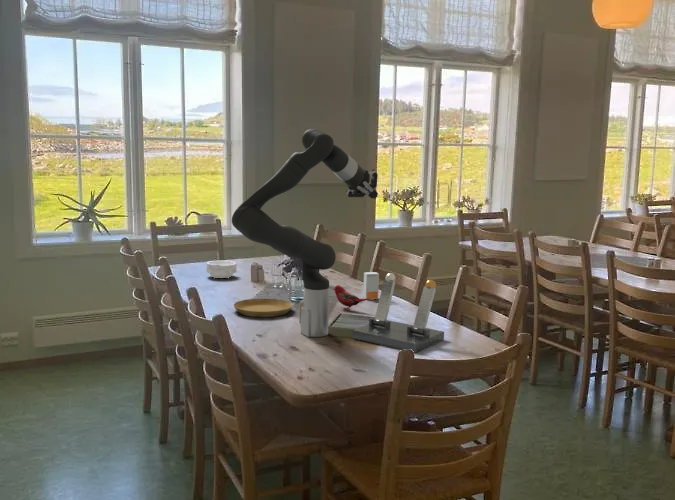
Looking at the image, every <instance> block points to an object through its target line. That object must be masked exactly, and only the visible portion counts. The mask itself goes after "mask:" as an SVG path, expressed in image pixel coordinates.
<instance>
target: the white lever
mask: <svg viewBox="0 0 675 500" xmlns="http://www.w3.org/2000/svg"><path fill="white" fill-rule="evenodd" d="M395 286H396V275H395V274H394V273H392V272H389V273H387V274H386V275H385V279H383V282H382V286H381V292H380V295H379V298H378V304H377V308H376V312H375V317H373V318H374V319H373V321H372V324H373V325H376V326H381V327H384V325H385V322H386V320H388V317H389V316H388V315H389V311H390V307H391V304H392V298H393V294H394V291H395Z"/></svg>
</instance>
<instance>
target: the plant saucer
mask: <svg viewBox="0 0 675 500" xmlns="http://www.w3.org/2000/svg"><path fill="white" fill-rule="evenodd" d="M233 308H234V309H235V311H237V313H239V314H241V315H243V316H246V317H253V318H274V317H280V316H283V315H286V314H287V313H288V312H289V311H291V309H292V308H293V303H292V302H291V301H288V300H285V299H284V300H283V299H279V298H269V297H267V298H263V297H262V298H259V297H257V298H248V299H243V300H238V301H237V302H234V304H233Z"/></svg>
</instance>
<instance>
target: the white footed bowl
mask: <svg viewBox="0 0 675 500" xmlns="http://www.w3.org/2000/svg"><path fill="white" fill-rule="evenodd" d="M206 273H208V274H209V275H210V277H211V278H212V277H214V278H213V279H215V278H228V277H231V276H232V277H233V275H234V274H235V273H237V262H235V261H233V260H232V261H231V260H209V261H207V262H206ZM232 277H231V278H232ZM228 279H229V278H228Z"/></svg>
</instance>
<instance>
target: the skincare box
mask: <svg viewBox="0 0 675 500" xmlns="http://www.w3.org/2000/svg"><path fill="white" fill-rule="evenodd" d="M379 283H380V273H378V272H376V271H375V272H374V271H371V272H369V271H368V272H367V271H366V272H363V290H362V292H363V293H362V299H369V301H370V300H374V299H378V300H379V286H380V285H379ZM374 301H375V300H374Z"/></svg>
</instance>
